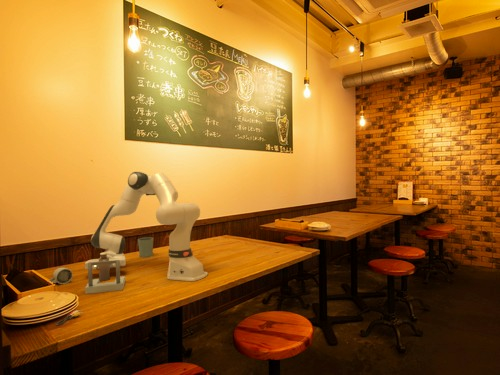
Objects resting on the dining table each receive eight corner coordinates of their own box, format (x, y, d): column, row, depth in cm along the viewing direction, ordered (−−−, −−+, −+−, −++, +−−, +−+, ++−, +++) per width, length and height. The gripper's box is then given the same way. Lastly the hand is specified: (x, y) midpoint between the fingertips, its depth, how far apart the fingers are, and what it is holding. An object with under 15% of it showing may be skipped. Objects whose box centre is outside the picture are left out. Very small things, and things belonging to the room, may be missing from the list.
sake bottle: (111, 278, 166) (110, 252, 165) (103, 281, 161) (102, 254, 161) (105, 277, 168) (104, 251, 168) (97, 280, 164) (96, 253, 163)
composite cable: (58, 327, 112) (58, 320, 112) (50, 324, 114) (50, 318, 114) (83, 316, 121) (83, 309, 121) (75, 314, 123) (75, 307, 123)
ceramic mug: (67, 278, 167) (67, 264, 167) (73, 282, 162) (72, 267, 161) (44, 284, 159) (44, 269, 159) (49, 287, 154) (48, 272, 154)
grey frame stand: (90, 285, 156) (89, 257, 155) (125, 281, 160) (124, 254, 160) (85, 293, 144) (84, 263, 144) (122, 289, 149) (121, 260, 148)
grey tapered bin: (148, 258, 208) (148, 240, 208) (135, 257, 210) (134, 239, 210) (156, 254, 218) (155, 237, 218) (143, 254, 220) (142, 237, 220)
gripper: (87, 256, 174) (81, 262, 161) (126, 253, 180) (124, 259, 166) (87, 267, 174) (82, 274, 161) (127, 264, 180) (124, 270, 167)
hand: (103, 266), depth 164 cm, fingers open, 7 cm apart
